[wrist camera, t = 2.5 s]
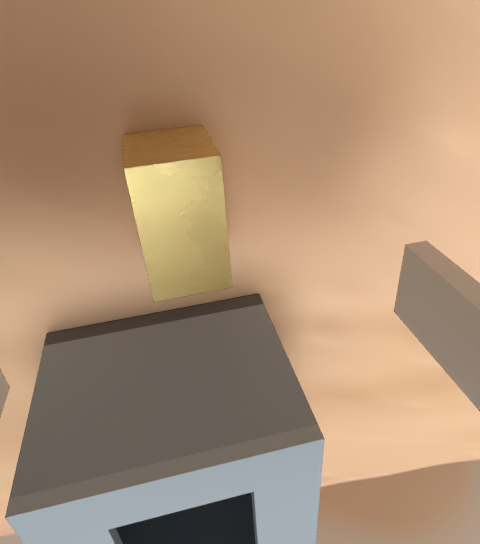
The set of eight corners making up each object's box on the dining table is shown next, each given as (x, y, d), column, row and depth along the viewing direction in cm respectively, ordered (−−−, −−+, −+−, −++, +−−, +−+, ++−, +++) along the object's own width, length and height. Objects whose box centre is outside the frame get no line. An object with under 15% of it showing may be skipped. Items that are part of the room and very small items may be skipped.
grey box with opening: (46, 333, 23) (4, 518, 15) (258, 293, 25) (324, 438, 17) (106, 476, 31) (100, 648, 23) (265, 438, 33) (312, 584, 25)
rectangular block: (124, 133, 19) (123, 168, 15) (202, 124, 19) (221, 155, 16) (148, 250, 22) (153, 302, 18) (214, 239, 23) (232, 287, 19)
